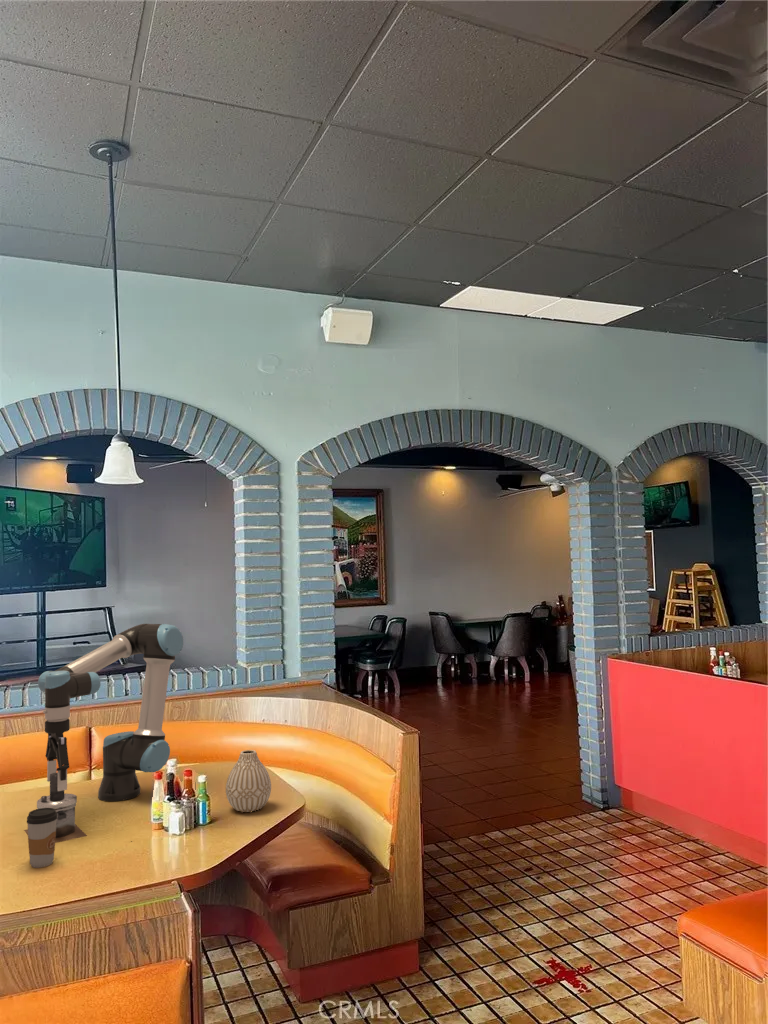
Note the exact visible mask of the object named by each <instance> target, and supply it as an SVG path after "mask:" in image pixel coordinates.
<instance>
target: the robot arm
mask: <svg viewBox="0 0 768 1024" xmlns="http://www.w3.org/2000/svg"><path fill="white" fill-rule="evenodd" d="M183 646H184V636H183V633H182V631H181V630H180V628H179V627H177V626H176V625H174V624H168V623H141V624H137V625H135V626H132V627H130V628H128V629H126V630H124V631H121V632H120V633H118V634H116V635H114V636H113V637H112V639H111V640H110V641H108V642H106V643H105V644H103V645H101V646H99V647H98V648H95V649H94V650H92V651H89V652H88V653H86V654H84V655H82V656H80V657H79V658H77V659H75V660H73V661H71V662H70V663H68V664H66V665H64V666H62V667H59V668H58V669H56V670H47V671H44V672H43V673H41V674H40V676H39V677H38V680H37V685H38V689H39V690H40V691H41V692H43V693H44V706H45V707H44V709H45V710H43V712H42V713H43V714H44V719H45V721H44V733H46V734H47V742H46V743H47V744H46V750H45V758H46V760H47V762H46V764H47V766H46V768H47V769H46V771H47V774H46V781H47V782H48V783H50V774H52V773H58V791H62V790H64V791H67V790H68V769H70V762H69V753H68V741H67V740H68V737H66V736H64V733H65V732H68V731H70V729H71V728H70V725H71V724H70V723H71V722H70V719H69V718H70V717H71V710H70V709H71V705H70V703H71V699H75V698H81V697H84V696H85V697H86V696H90V695H93V694H96V693H97V692H98V691H99V690H100V688H101V678H100V676H99V674H98V673H97V672H99V671H101V670H103V669H104V668H106V667H107V666H110V665H111V664H113V663H115V662H117V661H118V660H121V659H127V658H129V657H131V656H134V655H141V654H143V657H142V658H143V660H144V661H145V662H146V666H145V674H144V681H143V682H144V683H143V689H142V690H143V691H142V698H141V706H140V713H139V720H138V726H137V729H136V730H135V731H134V730H131V731H128V730H127V731H122V732H116V733H112V734H109V735H106V736H105V737H104V739H103V744H102V745H103V746H102V771H103V773H102V779H101V782H100V785H99V788H98V792H97V795H98V796H97V798H98V799H99V801H100V800H101V801H103V802H119V801H120V802H121V801H126V800H129V799H134V798H136V797H138V796H140V795H141V785H140V783H139V779H138V776H137V771H140V772H143V773H157V772H158V771H161V769H163V768H164V767H165V766H166V764H167V762H168V761H169V758H170V753H171V748H170V744H169V743H168V741H166V733H165V732H164V731H163V723H164V714H165V708H166V699H167V693H168V683H169V676H170V669H171V668H170V667H171V665H172V664H173V663H174V662H175V660H176V656H177V655H179V654H180V653H181V651H182V650H183V648H184V647H183ZM57 766H58V767H57ZM156 771H157V772H156Z"/></svg>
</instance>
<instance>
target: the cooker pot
mask: <svg viewBox="0 0 768 1024" xmlns="http://www.w3.org/2000/svg"><path fill="white" fill-rule="evenodd" d="M76 805H77V803H76V804H74V805H73V806H70V807H67V808H63V809H58V810H55V811H56V813H57V820H56V838H60V837H64V836H67V835H70V834H72V833H73V832H74V831H75V824H76ZM36 809H38V808H37V807H36Z"/></svg>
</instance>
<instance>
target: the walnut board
mask: <svg viewBox="0 0 768 1024" xmlns="http://www.w3.org/2000/svg"><path fill="white" fill-rule="evenodd" d="M23 831H24V833H26V835H27V836H28V828H27V829H23ZM87 836H88V834H87V833H85V832H84V831H83V830H82V828H80V827H79V825H77V824H76V823H75V831H74V832H73V833H72V834H70V835H67V836H64V837H60V838H55V844H56V843H61V842H65V841H71V840H74V839H75V840H76V839H80V838H85V837H87Z"/></svg>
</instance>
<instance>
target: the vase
mask: <svg viewBox="0 0 768 1024" xmlns="http://www.w3.org/2000/svg"><path fill="white" fill-rule="evenodd" d="M239 753H240V754H239V756H238V760H237V761H236V763H235V764H234V765H233V767H232V768H231V771H230V773H229V774H228V777H227V779H226V780H227V781H226V783H225V795H226V799H227V801H228V803H229V805H230V806H231V807H232V808H233V809H234V810H235V811H237V812H238V811H241V812H240V813H243V812H250V813H252V812H251V811H255V812H257V811H256V810H258V811H260V810H261V809H262V808H263V807H264V806H265V805H266V804H267V803H268V802H269V799H270V798H271V797H270V796H271V793H272V781H271V778H270V774H269V771H268V770H267V768H266V767H265V765H264V764H263V762H262V761H261V760H260V758H259V756H258V753H257V751H256V750H255V749H245V750H241V751H240V752H239ZM259 809H260V810H259Z"/></svg>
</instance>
